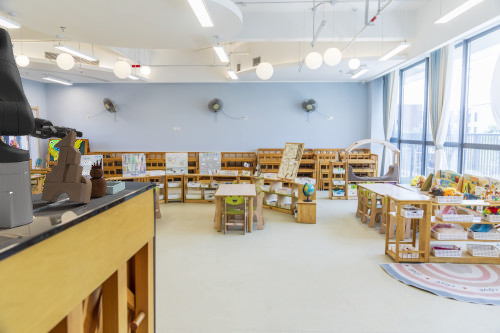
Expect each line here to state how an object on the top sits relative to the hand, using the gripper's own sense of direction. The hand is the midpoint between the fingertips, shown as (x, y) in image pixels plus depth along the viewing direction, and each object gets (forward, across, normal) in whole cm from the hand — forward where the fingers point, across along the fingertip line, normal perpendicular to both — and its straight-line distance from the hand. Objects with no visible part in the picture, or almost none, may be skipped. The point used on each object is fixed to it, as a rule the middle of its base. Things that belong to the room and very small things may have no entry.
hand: (74, 135), depth 119 cm
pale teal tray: (+8, +11, +23) cm, 27 cm away
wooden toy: (+8, -14, +21) cm, 26 cm away
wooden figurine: (+11, +1, +22) cm, 25 cm away
